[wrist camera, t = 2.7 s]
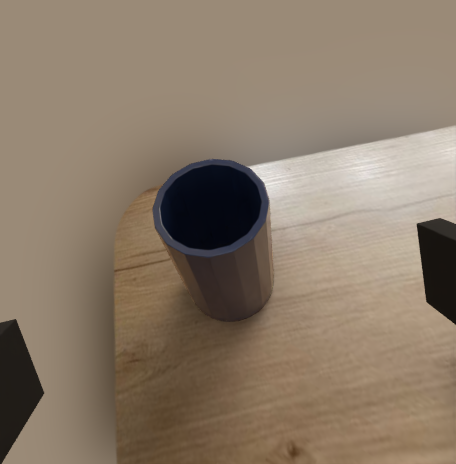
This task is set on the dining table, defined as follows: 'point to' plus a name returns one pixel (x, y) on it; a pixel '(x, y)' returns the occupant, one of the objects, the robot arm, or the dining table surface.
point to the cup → (218, 236)
